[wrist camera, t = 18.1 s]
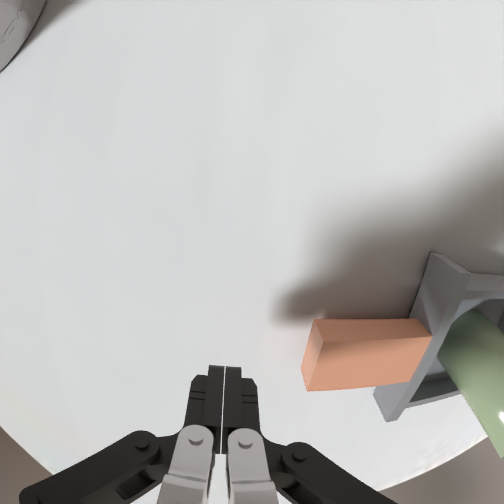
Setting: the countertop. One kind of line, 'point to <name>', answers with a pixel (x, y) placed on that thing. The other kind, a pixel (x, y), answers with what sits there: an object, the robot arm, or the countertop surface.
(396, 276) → the countertop surface
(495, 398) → the jar
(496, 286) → the tray
